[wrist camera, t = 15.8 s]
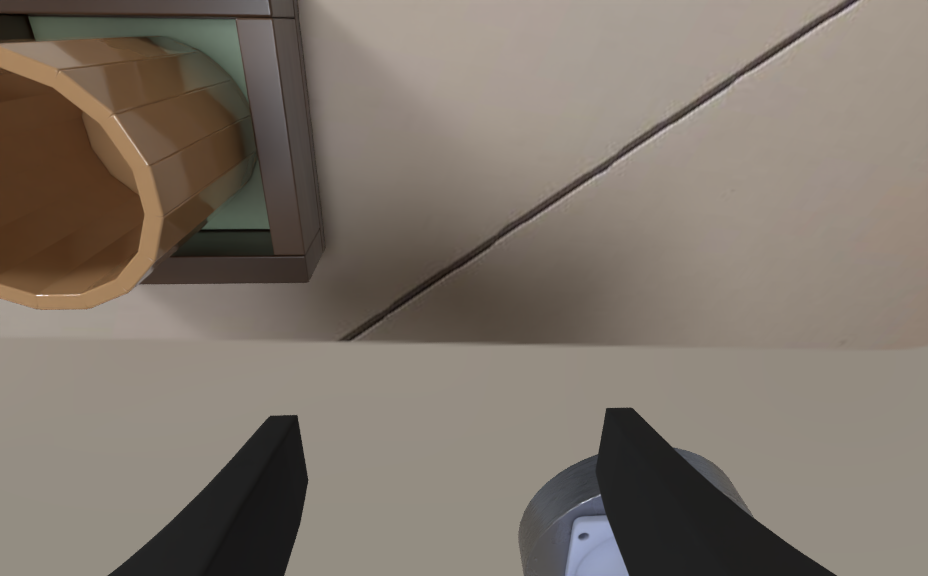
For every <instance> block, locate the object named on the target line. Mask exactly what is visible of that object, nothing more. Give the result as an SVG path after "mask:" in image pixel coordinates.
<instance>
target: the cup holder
mask: <svg viewBox="0 0 928 576" xmlns="http://www.w3.org/2000/svg"><path fill="white" fill-rule="evenodd" d="M111 35H158V36H162V37H167V38H171V39H175V40H178V41H180V42H183V43H186V44H188V45H190V46H192V47H194V48H196V49H198V50H200V51H201V52H203V53H204V54H206V55H207V56H209V57H210V58H211V59H213V60H214V61H215V62H216V63H218V64H219V65H220V66H221V67H222V68H223V69H224V70H225V71H226V72H227V73H228V74H229V75H230V76H231V77H232V79H233V80H234V81H235V82H236V84H237V85H238V86H239V88H240V89H241V91H242V93H243V94H244V96H245V97H246V100H247V102H248V104H249V107H250V113H251V119H252V125H253V131H254V137H255V143H256V149H257V155H258V156H257V161H256V165H255V168H254V171H253V174H252V176H251V178H250V180H249V182H248V183H247V184H246V186H245V187H244V189H243V190H242V191H241V192H240V193H239V194H238V195H237V196H236V197H235V198H234V199H233V200H232V202H231V203H230V204H229V205H228V206H226V207H225V208H224V209H223V210H222V211H221V212H220V213H218V214H217V215H216V216H215V217H214V218H213V219H212V220H211V221H209V222H208V223H207V224H206V225H205V226H204V227H203V228H202V229H200V230H199V231H198V232H197V233H196V234H195V235H194V236H192V237H191V238H190V239H189V240H188V241H187V242H186V243H185V244H183V245H182V246H181V247H180V248H179V249H178V250H177V251H176V252H174V253H173V254H172V255H171V256H170V257H169V258H168V259H167V260H165V261H164V262H163V263H162V264H161V265H160V266H159V267H157V268H156V269H155V270H154V271H153V272H152V273H151V274H150V275H148V276H147V277H146V278H145V279H144V280H143V281H142V282H141V283H139V284H227V283H308V282H309V280H310V278H311V276H312V274H313V272H314V270H315V268H316V266H317V264H318V262H319V260H320V258H321V256H322V253H323V252H324V250H325V240H324V232H323V223H322V214H321V206H320V197H319V189H318V180H317V171H316V163H315V154H314V145H313V137H312V128H311V119H310V111H309V102H308V94H307V85H306V76H305V68H304V59H303V50H302V42H301V33H300V24H299V16H298V7H297V0H0V40H16V39H40V38H63V37H87V36H111Z"/></svg>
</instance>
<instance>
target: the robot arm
mask: <svg viewBox="0 0 928 576" xmlns="http://www.w3.org/2000/svg"><path fill="white" fill-rule="evenodd" d="M595 473H596V477H597V481H598V485H599V490H600V494H601V498H602V502H603V505H604V509H605V513H606V515H598V516H581V517H578V518H577V519H575V520H574V522H573V525H572V532H571V538H570V545H569V551H568V557H567V564H566V570H565V576H837V575H835V574H833V573H832V572H830V571H829V570H827V569H826V568H824V567H823V566H821V565H820V564H818V563H817V562H815V561H813V560H812V559H810V558H809V557H807V556H806V555H804V554H803V553H801V552H800V551H798V550H797V549H795V548H794V547H792V546H791V545H790V544H788V543H787V542H785V541H784V540H783V539H781V538H780V537H779V536H777V535H776V534H774V533H773V532H772V531H770V530H769V529H768V528H766V527H765V526H764V525H762V524H761V523H760V522H758V521H757V520H756V519H754V518H753V517H752V516H750V515H749V514H748V513H747V512H745V511H744V510H743V509H741V508H740V507H739V506H738V505H737V504H735V503H734V502H733V501H732V500H731V499H729V498H728V497H727V496H726V495H725V494H723V493H722V492H721V491H720V490H719V489H717V488H716V487H715V486H714V485H713V484H712V483H711V482H709V481H708V480H707V479H706V478H705V477H704V476H703V475H702V474H700V473H699V472H698V471H697V470H696V469H695V468H694V467H693V466H692V465H691V464H689V463H688V462H687V461H686V460H685V459H684V458H683V457H682V456H681V455H680V454H679V453H678V452H677V451H676V450H675V449H674V448H673V447H671V446H670V445H669V444H668V443H667V442H666V441H665V440H664V439H663V438H662V437H661V436H660V435H659V434H658V433H657V432H656V431H655V430H654V429H653V428H652V427H651V426H650V425H649V424H648V423H647V422H646V421H645V420H644V419H643V418H642V417H641V416H640V415H639V414H638V413H637V412H636V411H635V410H634V409H633V408H607V409H606V413H605V420H604V425H603V431H602V436H601V442H600V448H599V453H598V459H597V465H596V471H595ZM307 484H308V476H307V470H306V464H305V458H304V453H303V446H302V440H301V435H300V429H299V422H298V416H297V415H283V416H270V417H269V418H268V419H267V420H266V421H265V422H264V423H263V424H262V425H261V426H260V427H259V429H258V430H257V431H256V432H255V433H254V434H253V435H252V437H251V438H250V439H249V440H248V441H247V442H246V443H245V445H244V446H243V447H242V448H241V449H240V450H239V451H238V453H237V454H236V455H235V456H234V457H233V458H232V460H230V461H229V463H228V464H227V465H226V466H225V467H224V468H223V469H222V470H221V471H220V472H219V473H218V474H217V475H216V476H215V477H214V479H213V480H212V481H211V482H210V483H209V484H208V485H207V486H206V487H205V488H204V489H203V490H202V491H201V492H200V493H199V495H197V496H196V497H195V498H194V499H193V500H192V501H191V502H190V503H189V504H188V505H187V506H186V507H185V508H184V509H183V510H182V511H181V512H180V513H179V514H178V515H177V516H176V517H175V518H174V519H173V520H172V521H171V522H170V523H169V524H168V525H166V526H165V527H164V528H163V529H162V530H161V531H160V532H159V533H158V534H157V535H156V536H154V537H153V538H152V539H151V540H150V541H149V542H148V543H147V544H145V545H144V546H143V547H142V548H141V549H140V550H139V551H137V552H136V553H135V554H134V555H133V556H131V557H130V558H129V559H128V560H127V561H126V562H124V563H123V564H122V565H121V566H120V567H118V568H117V569H116V570H114V571H113V572H112V573H111V574H109V575H108V576H284V574H285V571H286V568H287V564H288V561H289V558H290V555H291V552H292V548H293V545H294V542H295V539H296V536H297V532H298V529H299V526H300V521H301V517H302V511H303V506H304V501H305V496H306V489H307Z"/></svg>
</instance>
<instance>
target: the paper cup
mask: <svg viewBox="0 0 928 576" xmlns="http://www.w3.org/2000/svg"><path fill="white" fill-rule="evenodd" d="M257 156H258V155H257V149H256V143H255V137H254V131H253V125H252V119H251V113H250V107H249V104H248V102H247V100H246V97H245V96H244V94H243V93H242V91H241V89H240V88H239V86H238V85H237V84H236V82H235V81H234V80H233V79H232V77H231V76H230V75H229V74H228V73H227V72H226V71H225V70H224V69H223V68H222V67H221V66H220V65H219V64H218V63H216V62H215V61H214V60H213V59H211V58H210V57H209V56H207V55H206V54H204V53H203V52H201V51H200V50H198V49H196V48H194V47H192V46H190V45H188V44H186V43H183V42H180V41H178V40H175V39H171V38H167V37H162V36H158V35H111V36H87V37H63V38H40V39H16V40H0V299H4V300H7V301H10V302H14V303H17V304H21V305H24V306H27V307H31V308H34V309H40V310H62V309H90V308H93V307H96V306H98V305H100V304H103V303H105V302H108V301H110V300H112V299H115V298H117V297H120V296H122V295H125V294H127V293H129V292H130V291H132V290H133V289H134V288H135V287H136V286H137V285H138V284H139V283H141V282H142V281H143V280H144V279H145V278H146V277H147V276H148V275H150V274H151V273H152V272H153V271H154V270H155V269H156V268H157V267H159V266H160V265H161V264H162V263H163V262H164V261H165V260H167V259H168V258H169V257H170V256H171V255H172V254H173V253H174V252H176V251H177V250H178V249H179V248H180V247H181V246H182V245H183V244H185V243H186V242H187V241H188V240H189V239H190V238H191V237H192V236H194V235H195V234H196V233H197V232H198V231H199V230H200V229H202V228H203V227H204V226H205V225H206V224H207V223H208V222H209V221H211V220H212V219H213V218H214V217H215V216H216V215H217V214H218V213H220V212H221V211H222V210H223V209H224V208H225V207H226V206H228V205H229V204H230V203H231V202H232V200H233V199H234V198H235V197H236V196H237V195H238V194H239V193H240V192H241V191H242V190H243V189H244V187H245V186H246V184H247V183H248V182H249V180H250V178H251V176H252V174H253V171H254V168H255V165H256V161H257Z"/></svg>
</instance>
